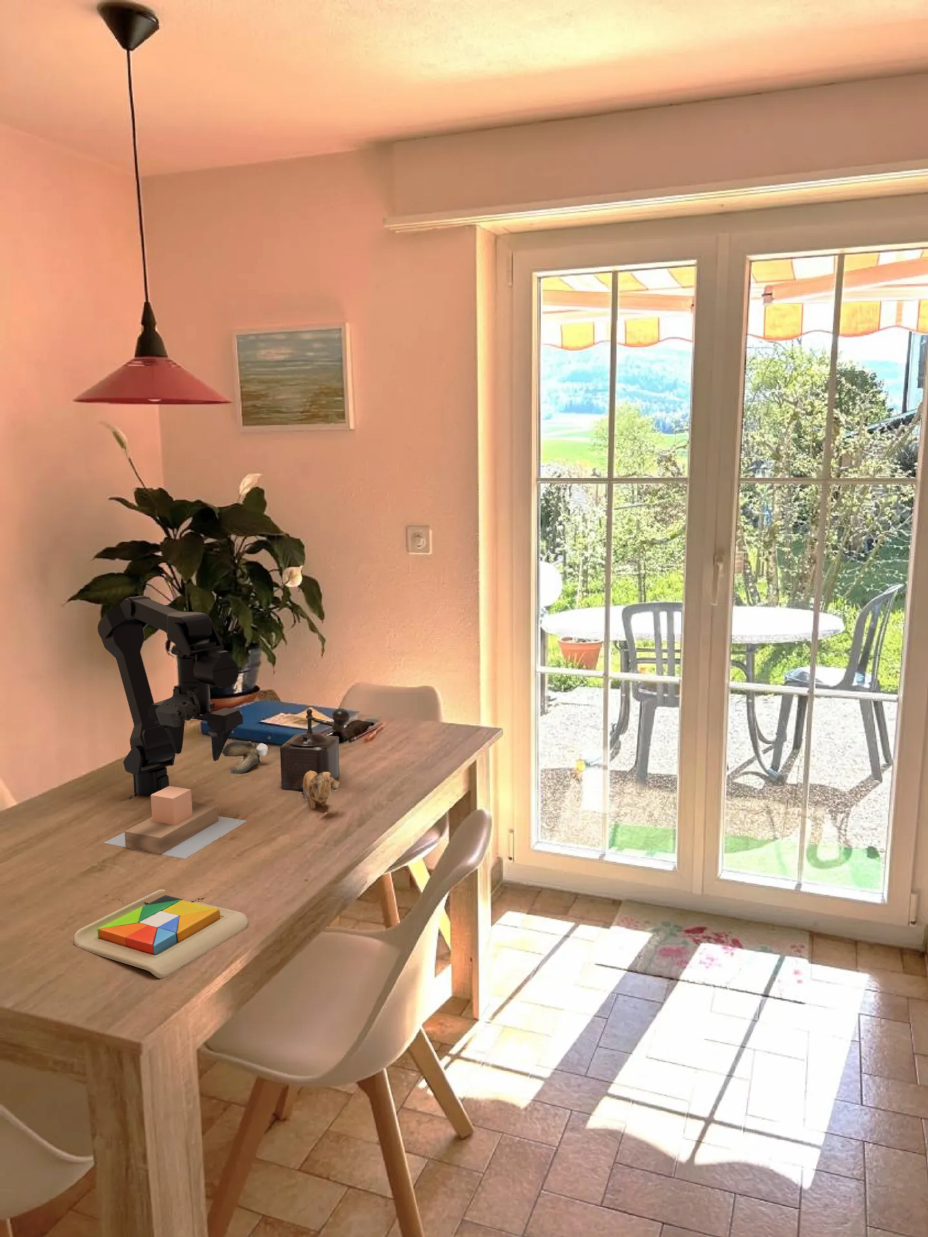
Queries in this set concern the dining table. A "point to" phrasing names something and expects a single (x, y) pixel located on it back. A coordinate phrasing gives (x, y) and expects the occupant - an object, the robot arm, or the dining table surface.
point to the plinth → (170, 830)
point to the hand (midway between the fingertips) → (197, 757)
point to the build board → (192, 838)
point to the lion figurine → (318, 787)
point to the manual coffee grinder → (312, 752)
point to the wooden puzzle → (160, 933)
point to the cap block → (171, 805)
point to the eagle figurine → (244, 754)
